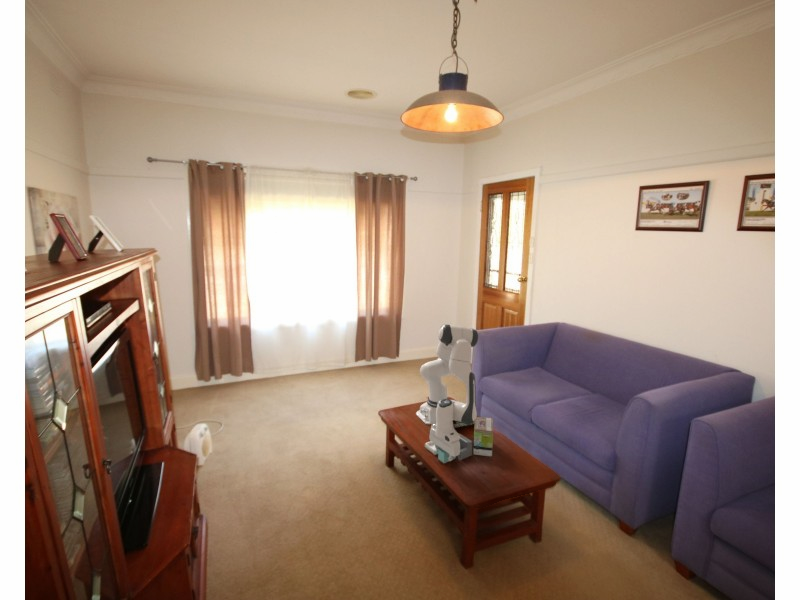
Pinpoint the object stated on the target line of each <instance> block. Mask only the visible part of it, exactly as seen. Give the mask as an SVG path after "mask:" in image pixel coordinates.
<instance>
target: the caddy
mask: <svg viewBox="0 0 800 600" xmlns="http://www.w3.org/2000/svg"><path fill="white" fill-rule="evenodd" d="M449 456H450V455H449V453H447V452H446V451H445V450H443V449H442V448H440V447H438V454H437V459H438V461H440V462H441V463H443V464H446V463H448V462H450V461H449V460H448V457H449ZM456 457H457V456H456ZM456 457H452V461H453V460H456Z"/></svg>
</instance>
